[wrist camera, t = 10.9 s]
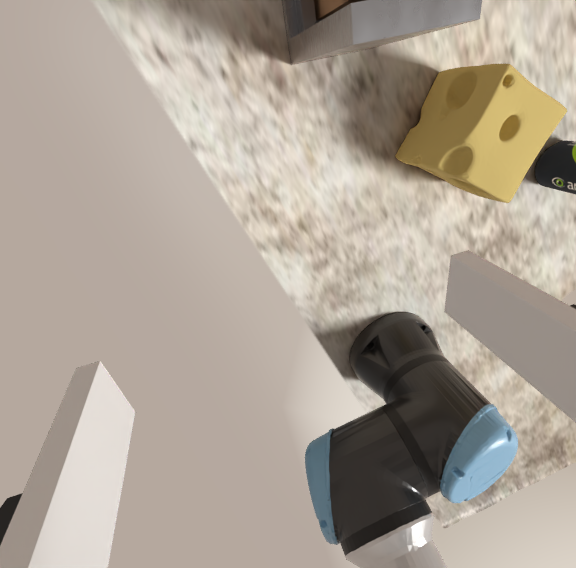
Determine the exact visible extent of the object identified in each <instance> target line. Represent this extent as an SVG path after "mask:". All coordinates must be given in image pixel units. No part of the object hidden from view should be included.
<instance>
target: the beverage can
mask: <svg viewBox="0 0 576 568" xmlns="http://www.w3.org/2000/svg"><path fill="white" fill-rule="evenodd" d="M535 176H536V179H537V181H538V183H539V184H540V185H542V186H545V187H549V188H553V189H557V190H561V191H565V192H569V193H573V194H576V142H574V141H561V142H558V143H556V144H555V145H553V146H551V147H549V148H548V149H547V150H546V151H545V152H544V153H543V154H542V155H541V157H540V158H539V160H538V162H537V164H536V168H535Z"/></svg>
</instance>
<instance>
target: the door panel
mask: <svg viewBox="0 0 576 568" xmlns="http://www.w3.org/2000/svg"><path fill="white" fill-rule="evenodd" d="M360 1H366V0H314V5H315V15H316V21H317V20H323V19H325V18H327V17H328V16H330V15H332V14H334V13H335V12H337V11H339V10H340V9H342V8H344V7H345V6H347V5H349V4H351V3H355V2H360Z"/></svg>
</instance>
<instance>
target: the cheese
mask: <svg viewBox="0 0 576 568" xmlns="http://www.w3.org/2000/svg"><path fill="white" fill-rule="evenodd" d="M566 112H567V109H566V108H565V107H564V106H563V105H561V104H560V103H559V102H558V101H556V100H555V99H553V98H552V97H550V96H549V95H547V94H546V93H544V92H542V91H541V90H540V89H538V88H537V87H535V86H534V85H533V84H531V83H530V82H529V81H528V80H527V79H526V78H525V77H523V76H522V75H521V74H520V73H519V72H518V71H517V70H516V69H515V68H514V67H513V66H511V65H510V64H489V65H481V66H469V67H460V68H454V69H449V70H445V71H441V72H439V73H438V75H437V77H436V79H435V81H434V83H433V85H432V87H431V89H430V91H429V93H428V95H427V97H426V100H425V102H424V104H423V106H422V108H421V119H420V121H419V123H418V124H417V126H416V127H414V128H411V129H410V131H409V132H408V134H407V136H406V138H405V139H404V141H403V143H402V145H401V146H400V148H399V150H398V152H397V153H396V155H395V157H396V158H397V159H398V160H399V161H401V162H403V163H406V164H409V165H413V166H417V167H419V168H421V169H423V170H425V171H427V172H429V173H431V174H433V175H435V176H437V177H439V178H441V179H443V180H445V181H446V182H448V183H450V184H452V185H453V186H455V187H458V188H460V189H462V190H465V191H467V192H470V193H472V194H475V195H478V196H481V197H484V198H488V199H492V200H496V201H500V202H505V203H509V202H510V201H511V199H512V198H513V196H514V194H515V193H516V191H517V189H518V187H519V186H520V184H521V182H522V180H523V178H524V176H525V175H526V173H527V171H528V169H529V168H530V166H531V165H532V163H533V161H534V160H535V158H536V157H537V155H538V153H539V152H540V150H541V149H542V147H543V146H544V144H545V143H546V141H547V140H548V138H549V137H550V135H551V134H552V132H553V131H554V129H555V128H556V126H557V125H558V123H559V122H560V121H561V119H562V118H563V116H564V115H565V114H566Z"/></svg>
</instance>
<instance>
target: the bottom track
mask: <svg viewBox="0 0 576 568" xmlns="http://www.w3.org/2000/svg"><path fill="white" fill-rule="evenodd" d="M282 3H283V11H284V18H285V25H286V32H287V39H288V46H289V53H290V60H291V65H293V64H298V63H303V62H308V61H313V60H317V59H322V58H327V57H332V56H337V55H342V54H347V53H351V52H356V51H361V50H366V49H371V48H375V47H379V46H382V45H386V44H390V43H393V42H397V41H401V40H404V39H408V38H412V37H415V36H419V35H423V34H426V33H430V32H434V31H438V30H441V29H445V28H449V27H452V26H456V25H460V24H463V23H467V22H471V21H474V20H478V19H480V13H481V4H482V0H366V1H360V2H355V3H351V4H349V5H347V6H345V7H344V8H342V9H340V10H339V11H337V12H335V13H334V14H332V15H330V16H328V17H327V18H325V19H323V20H317V21H316V15H315V5H314V0H282Z"/></svg>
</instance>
